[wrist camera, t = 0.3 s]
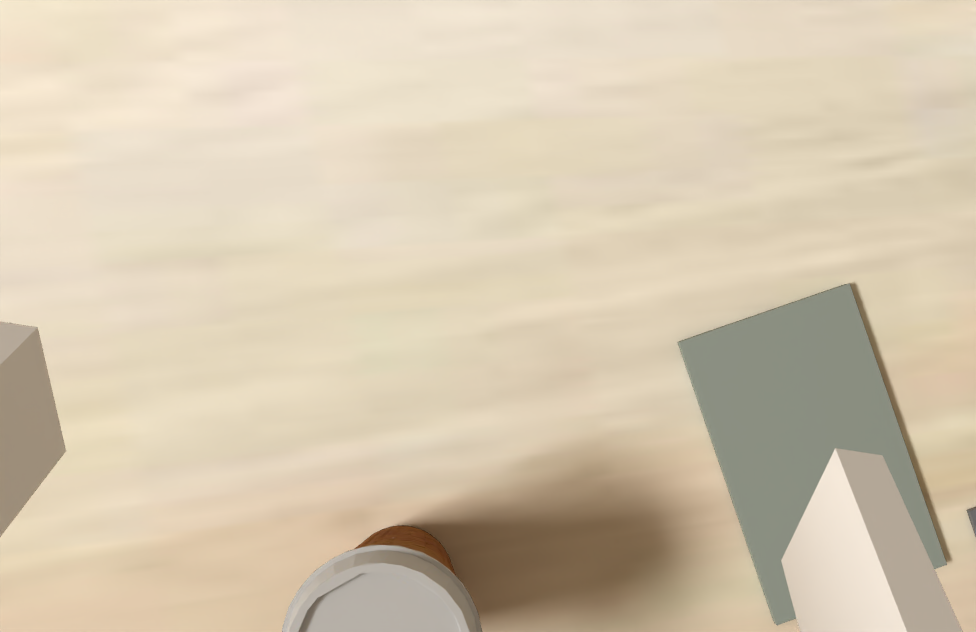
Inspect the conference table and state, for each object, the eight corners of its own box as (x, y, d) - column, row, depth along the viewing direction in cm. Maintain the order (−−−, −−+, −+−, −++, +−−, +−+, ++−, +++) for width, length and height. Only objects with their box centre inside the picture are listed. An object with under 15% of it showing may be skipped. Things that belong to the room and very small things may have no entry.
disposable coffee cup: (481, 499, 49) (485, 553, 37) (478, 657, 49) (482, 763, 37) (323, 497, 49) (275, 551, 37) (320, 657, 49) (271, 763, 37)
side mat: (942, 562, 50) (946, 564, 49) (773, 622, 49) (777, 625, 49) (845, 284, 50) (849, 283, 49) (677, 342, 50) (679, 342, 49)
